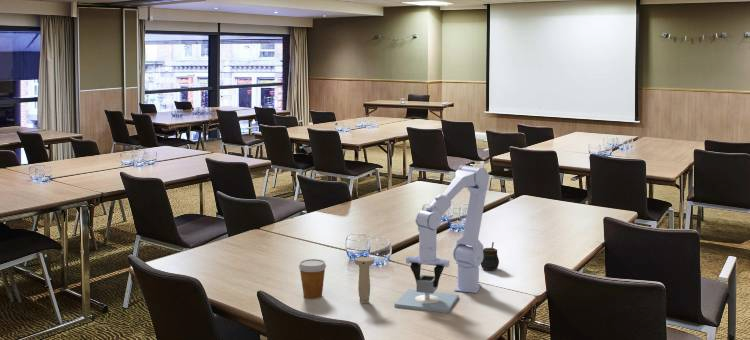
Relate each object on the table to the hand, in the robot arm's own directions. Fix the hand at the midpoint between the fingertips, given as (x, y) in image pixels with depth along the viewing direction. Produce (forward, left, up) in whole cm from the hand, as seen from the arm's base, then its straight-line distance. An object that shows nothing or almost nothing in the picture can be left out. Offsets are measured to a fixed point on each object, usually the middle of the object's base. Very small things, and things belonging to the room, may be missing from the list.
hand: (427, 285), depth 235 cm
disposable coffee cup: (+7, -39, -6) cm, 40 cm away
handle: (+7, -20, -6) cm, 22 cm away
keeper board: (0, 0, -6) cm, 6 cm away
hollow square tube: (0, 0, -1) cm, 1 cm away
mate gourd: (-45, +13, -6) cm, 47 cm away
